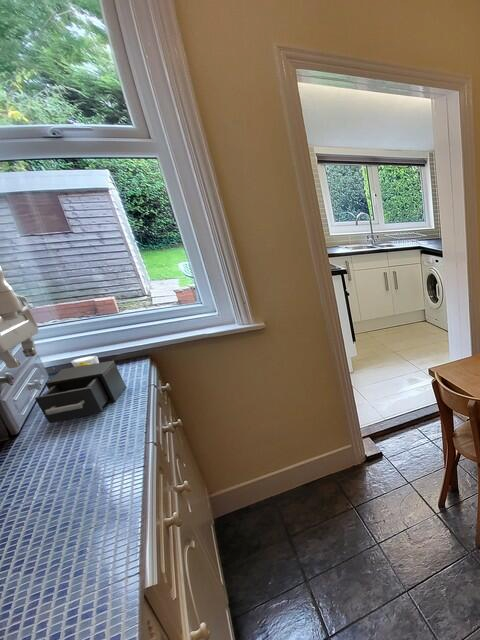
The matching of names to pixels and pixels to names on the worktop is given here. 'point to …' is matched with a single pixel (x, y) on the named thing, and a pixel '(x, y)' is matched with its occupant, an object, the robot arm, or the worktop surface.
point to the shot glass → (85, 360)
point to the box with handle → (104, 370)
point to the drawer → (73, 399)
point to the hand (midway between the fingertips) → (23, 361)
